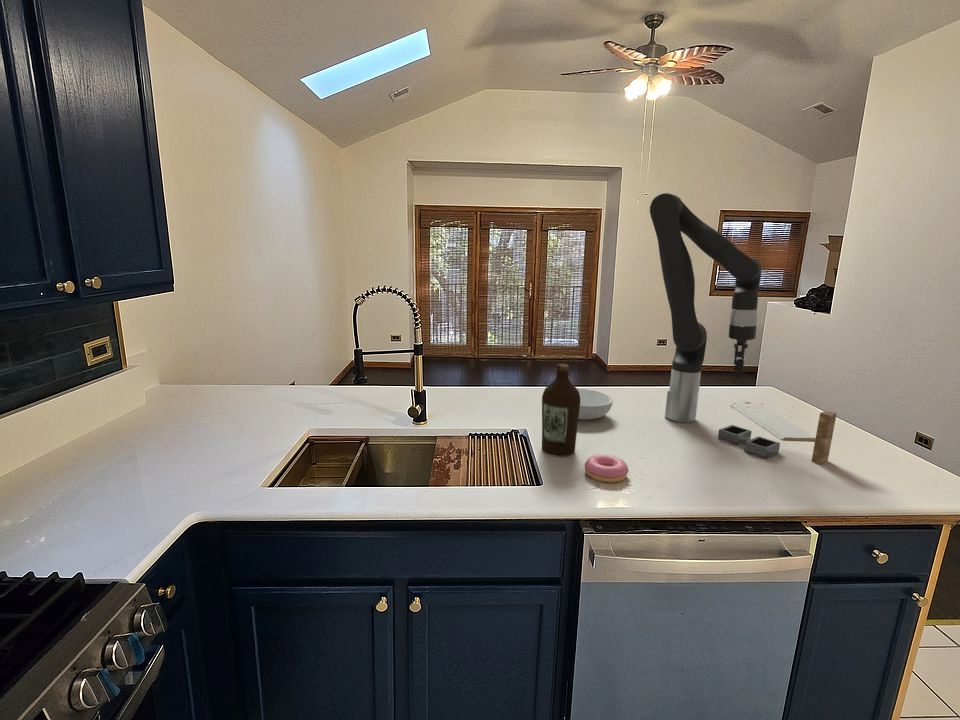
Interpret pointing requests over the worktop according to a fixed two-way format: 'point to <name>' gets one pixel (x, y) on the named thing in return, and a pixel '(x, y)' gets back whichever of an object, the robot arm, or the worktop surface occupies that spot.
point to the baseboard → (773, 423)
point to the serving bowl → (593, 404)
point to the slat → (824, 437)
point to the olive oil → (560, 414)
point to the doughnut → (606, 468)
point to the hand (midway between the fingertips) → (738, 374)
